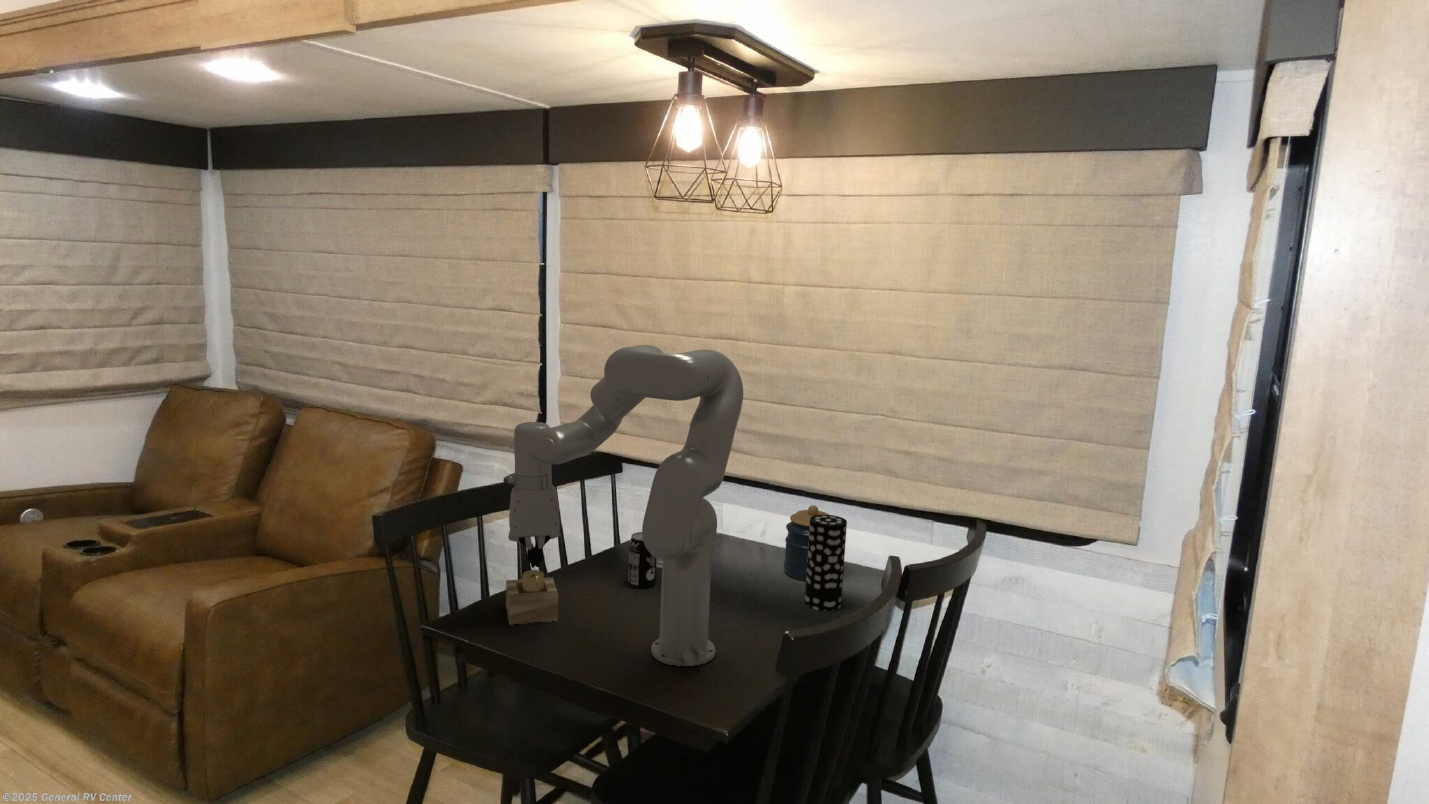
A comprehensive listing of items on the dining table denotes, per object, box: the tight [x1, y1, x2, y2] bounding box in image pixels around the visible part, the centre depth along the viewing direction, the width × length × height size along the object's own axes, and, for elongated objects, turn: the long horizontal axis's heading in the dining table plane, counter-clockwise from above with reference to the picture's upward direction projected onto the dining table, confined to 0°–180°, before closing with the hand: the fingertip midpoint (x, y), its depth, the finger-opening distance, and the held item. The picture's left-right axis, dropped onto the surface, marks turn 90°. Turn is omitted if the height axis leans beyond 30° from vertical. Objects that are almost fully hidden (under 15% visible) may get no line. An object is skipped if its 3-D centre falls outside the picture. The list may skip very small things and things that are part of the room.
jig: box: [505, 576, 559, 626], centre depth 181 cm, size 10×10×6 cm
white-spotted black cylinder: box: [804, 514, 848, 612], centre depth 193 cm, size 8×8×20 cm
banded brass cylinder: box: [522, 569, 545, 593], centre depth 181 cm, size 4×4×8 cm
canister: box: [783, 504, 830, 581], centre depth 212 cm, size 13×13×18 cm
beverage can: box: [627, 531, 657, 589], centre depth 200 cm, size 7×7×12 cm
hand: (534, 565), depth 180 cm, fingers closed
